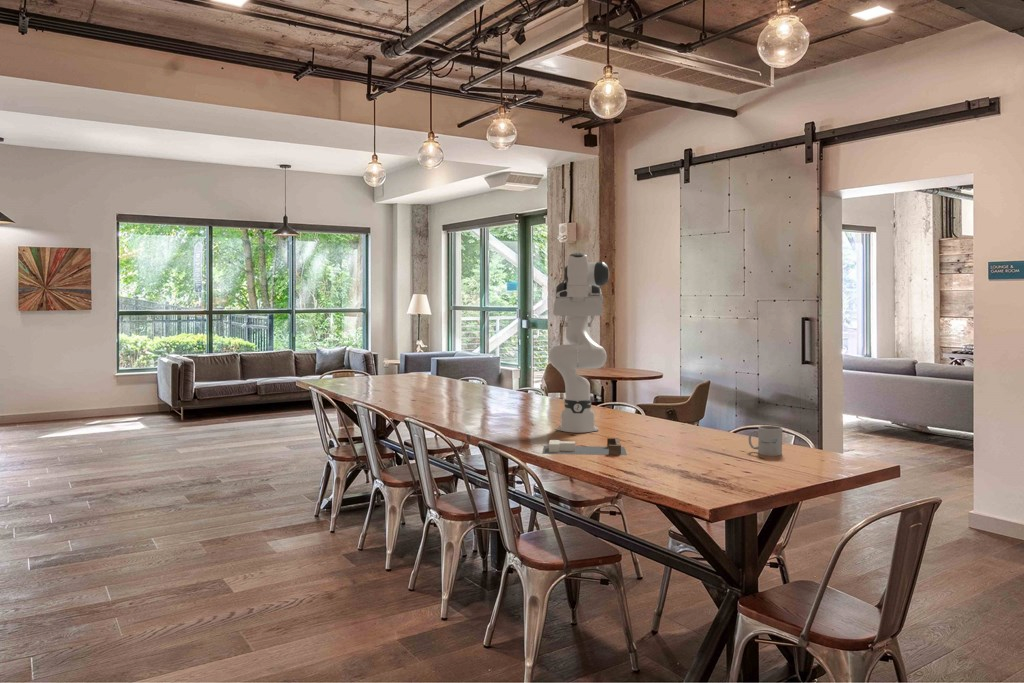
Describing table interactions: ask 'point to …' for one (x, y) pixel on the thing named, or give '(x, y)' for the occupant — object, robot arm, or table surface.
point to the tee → (561, 446)
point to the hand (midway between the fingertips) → (577, 326)
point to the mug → (768, 440)
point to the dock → (614, 446)
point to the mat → (585, 450)
